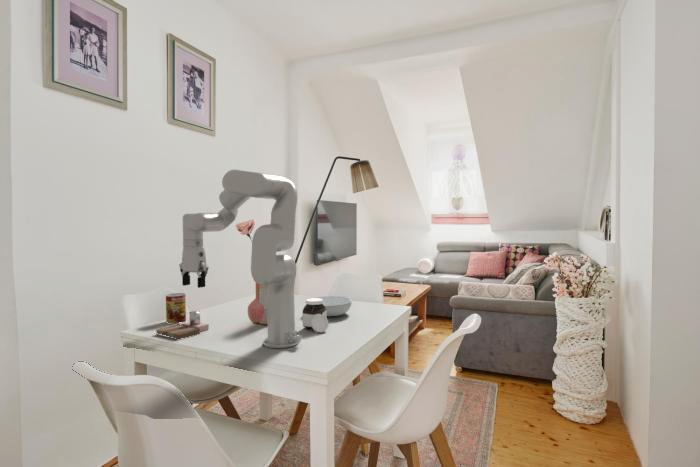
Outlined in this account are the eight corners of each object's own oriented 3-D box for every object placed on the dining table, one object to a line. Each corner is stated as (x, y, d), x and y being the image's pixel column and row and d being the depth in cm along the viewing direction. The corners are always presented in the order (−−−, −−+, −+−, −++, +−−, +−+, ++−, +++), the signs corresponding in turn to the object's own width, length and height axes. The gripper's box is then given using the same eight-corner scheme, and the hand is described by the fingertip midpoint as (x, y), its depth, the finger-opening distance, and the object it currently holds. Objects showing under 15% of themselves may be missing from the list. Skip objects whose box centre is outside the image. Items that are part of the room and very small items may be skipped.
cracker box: (271, 325, 162) (270, 275, 162) (258, 324, 164) (257, 275, 163) (286, 317, 176) (285, 271, 175) (273, 316, 177) (273, 271, 177)
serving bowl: (297, 316, 178) (297, 301, 177) (326, 308, 195) (325, 294, 195) (333, 322, 166) (333, 306, 166) (360, 313, 183) (360, 298, 183)
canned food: (176, 324, 166) (175, 296, 165) (162, 323, 168) (161, 295, 168) (189, 320, 173) (189, 293, 173) (176, 318, 176) (175, 292, 175)
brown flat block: (199, 333, 151) (199, 328, 151) (178, 340, 143) (178, 334, 143) (177, 329, 158) (177, 323, 158) (156, 334, 150) (156, 329, 150)
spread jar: (314, 324, 164) (314, 296, 163) (336, 327, 158) (336, 299, 157) (296, 331, 153) (296, 302, 153) (319, 335, 147) (319, 304, 147)
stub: (208, 329, 157) (208, 312, 156) (197, 332, 152) (196, 314, 152) (193, 325, 162) (192, 309, 162) (181, 329, 157) (181, 311, 157)
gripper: (214, 244, 155) (215, 286, 155) (188, 243, 164) (188, 283, 164) (198, 245, 148) (199, 289, 149) (171, 243, 158) (172, 285, 158)
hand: (193, 286), depth 157 cm, fingers open, 9 cm apart
